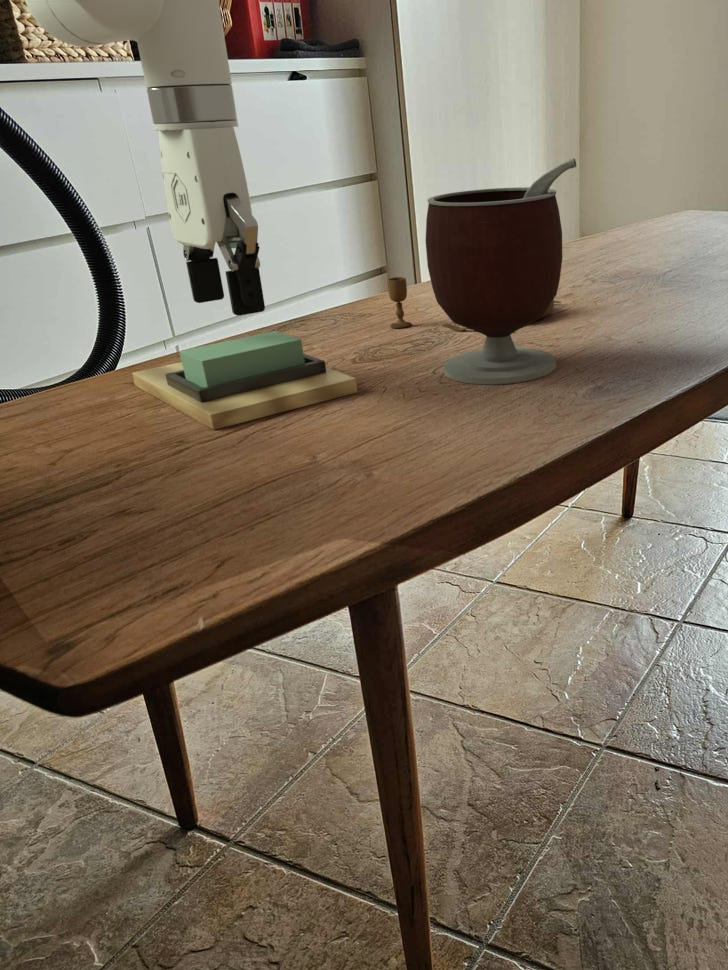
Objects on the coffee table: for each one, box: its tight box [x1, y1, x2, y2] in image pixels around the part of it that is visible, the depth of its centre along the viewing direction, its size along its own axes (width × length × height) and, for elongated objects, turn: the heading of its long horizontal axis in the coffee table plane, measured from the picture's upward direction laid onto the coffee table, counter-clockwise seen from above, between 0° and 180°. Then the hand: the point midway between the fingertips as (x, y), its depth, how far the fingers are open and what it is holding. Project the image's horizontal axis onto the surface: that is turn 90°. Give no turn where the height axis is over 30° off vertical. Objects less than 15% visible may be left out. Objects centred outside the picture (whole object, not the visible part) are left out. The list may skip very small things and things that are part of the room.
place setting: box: [386, 276, 562, 332], centre depth 119 cm, size 18×20×6 cm
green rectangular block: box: [179, 330, 305, 388], centre depth 94 cm, size 11×6×4 cm, turn 128°
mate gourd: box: [425, 158, 577, 385], centre depth 93 cm, size 16×14×20 cm
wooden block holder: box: [131, 353, 358, 431], centre depth 96 cm, size 16×22×3 cm
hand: (228, 306), depth 91 cm, fingers open, 9 cm apart
